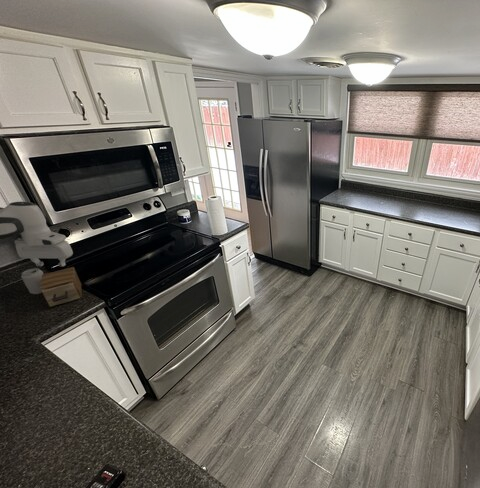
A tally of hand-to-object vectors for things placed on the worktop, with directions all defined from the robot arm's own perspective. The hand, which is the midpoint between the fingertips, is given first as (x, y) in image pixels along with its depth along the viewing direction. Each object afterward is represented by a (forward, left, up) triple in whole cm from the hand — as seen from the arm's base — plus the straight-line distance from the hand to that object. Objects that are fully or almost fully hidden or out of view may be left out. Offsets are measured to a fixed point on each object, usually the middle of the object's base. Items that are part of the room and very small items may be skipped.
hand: (51, 265), depth 120 cm
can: (-11, +21, -21) cm, 32 cm away
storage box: (-1, +9, -21) cm, 23 cm away
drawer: (-1, +3, -20) cm, 20 cm away
